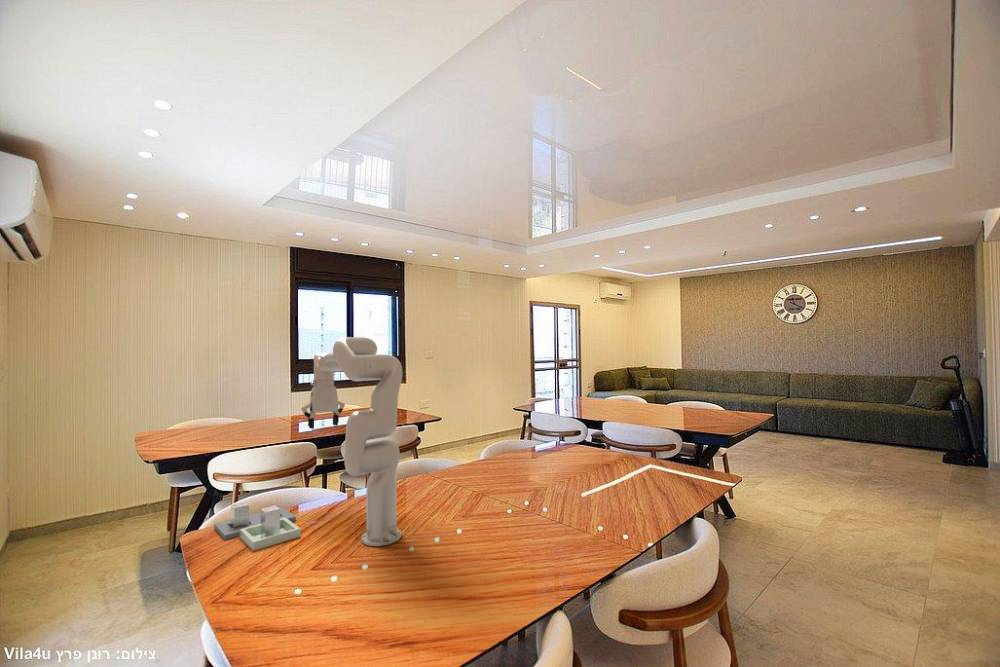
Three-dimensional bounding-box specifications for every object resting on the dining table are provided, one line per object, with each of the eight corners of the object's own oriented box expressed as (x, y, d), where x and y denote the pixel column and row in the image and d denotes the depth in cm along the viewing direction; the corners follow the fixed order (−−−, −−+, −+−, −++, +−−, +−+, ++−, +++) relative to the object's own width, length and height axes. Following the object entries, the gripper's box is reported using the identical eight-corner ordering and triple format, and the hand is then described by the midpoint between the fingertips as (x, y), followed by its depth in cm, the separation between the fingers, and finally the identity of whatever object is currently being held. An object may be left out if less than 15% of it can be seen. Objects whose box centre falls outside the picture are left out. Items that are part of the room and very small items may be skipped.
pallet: (295, 523, 156) (295, 516, 156) (224, 543, 140) (224, 535, 140) (281, 513, 166) (281, 506, 166) (213, 530, 150) (214, 523, 150)
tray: (300, 539, 142) (300, 528, 142) (252, 554, 132) (253, 542, 132) (285, 527, 152) (285, 517, 152) (239, 540, 142) (239, 529, 142)
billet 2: (279, 536, 142) (279, 508, 143) (265, 540, 139) (265, 512, 140) (275, 532, 145) (275, 505, 146) (260, 536, 142) (260, 508, 143)
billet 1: (248, 531, 149) (248, 504, 150) (234, 535, 146) (234, 508, 147) (244, 527, 152) (245, 501, 153) (230, 531, 149) (230, 505, 150)
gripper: (305, 385, 168) (305, 430, 167) (348, 383, 180) (348, 425, 179) (298, 384, 173) (297, 428, 172) (340, 382, 185) (340, 423, 185)
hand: (323, 426), depth 176 cm, fingers open, 9 cm apart
